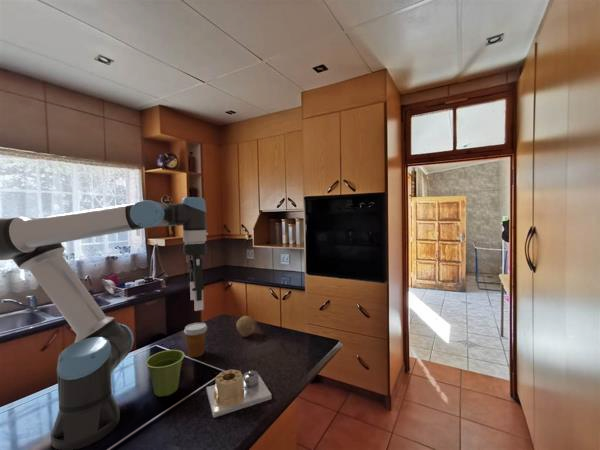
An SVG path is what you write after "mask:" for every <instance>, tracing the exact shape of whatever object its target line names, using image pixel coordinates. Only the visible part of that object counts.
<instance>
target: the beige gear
mask: <svg viewBox="0 0 600 450" xmlns="http://www.w3.org/2000/svg"><path fill="white" fill-rule="evenodd" d="M243 377H244V374H243V373H242V371H241V370H237V369H228V370H224V371H221V372H219V373H218V374H217V375H216V376H215V377H214V380H215V381H214V382H215V384H214V385H215V387H216V390H215V392H214V397H215V398H216V402H217V403H219V402H220V403H225V405H229V403H232V402H235V401H236V402H238V401H239V400H240V397H241V396H242V395H244V389H243Z"/></svg>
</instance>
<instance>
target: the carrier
mask: <svg viewBox="0 0 600 450" xmlns="http://www.w3.org/2000/svg"><path fill="white" fill-rule="evenodd" d="M243 389H244V395H242V396H241V397H240V400H239V401H238V402H236V401H235V402H232V403H229V405H225V403H220V402H219V403H217V402H216V398H215V397H214V392H215V390H216V387H215V384H214V385H210V386H206V389H205V390H206V392H205V393H206V395H207V398H208V402H209V405H210V406H209V407H210V410H211V414H212V417H213V418H217V417H221V416H224V415H226V414H229V413H233V412H236V411H238V410H241V409H245V408H249V407H252V406H254V405H257V404H261V403H263V402H267V401H270V400H272V393H271V391H270V390H269V389H268V386H267V385H266V383H265V382H264V381H263V378H262V377H261V375H260V374H259V372H258V371H256V370H254V369H250V370H248V371H246V372H244V374H243Z"/></svg>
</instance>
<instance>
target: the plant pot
mask: <svg viewBox="0 0 600 450" xmlns="http://www.w3.org/2000/svg"><path fill="white" fill-rule="evenodd" d="M185 355H186V354H185V352H183V351H182V350H178V349H169V350H163V351H159V352H157V353H155V354H152V355H151V356H150V357H148V358H147V359H146V361H145V365H146V366H147V369H148V371H149V374H150V378H151V383H152V388H153V392H154V395H155V396H156V397H161V398H162V397H166V396H171V395H172V394H174V393H175V392H176V391H177V390H178V388H179V384H180V376H181V370H182V364H183V360H184V358H185Z"/></svg>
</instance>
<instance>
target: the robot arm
mask: <svg viewBox="0 0 600 450" xmlns="http://www.w3.org/2000/svg"><path fill="white" fill-rule="evenodd" d="M206 207H207V206H206V200H205V199H204V198H203V197H199V196H196V197H195V196H191V197H190V196H189V197H183V198H182V201H181V202H178V203H163V202H158V201H155V200H151V199H144V200H140V201H139V200H138V201H136V202H134V203H129V204H128V203H127V204H121V205H115V206H108V207H103V208H101V207H100V208H95V209H89V210H88V209H87V210H82V211H75V212H69V213H63V214H57V215H51V216H43V217H42V216H41V217H24V216H18V217H10V218H9V217H8V218H7V217H4V218H1V217H0V261H8V260H13V261H14V264H16V266H17V267H18V269H19V270H26V271H29V272H30V273H31V274H32V276H33V278H34V279H35V280H36V281H37V283H38V284H39V286H40V288H41V289H42V290H43V291H44V292H45V294H46V295H47V296H48V298H49V299H50V300H51V302H52V303H53V304H54V306H55V308H57V310H58V311H59V313H60V314H61V315H62V317H63V318H64V320H66V322H67V323H68V324H69V326H70V327H71V329H72V330H73V331H74V333H75V334H76V336H75V340H74V342H73V343H72V344H70V345H68V346H67V347H66V348H64V349H63V350H62V351H61V352H60V354H59V355H58V358H57V366H56V374H57V392H58V393H57V394H58V412H57V416H56V418H55V421H54V424H53V427H52V430H51V434H50V443H51V444H50V445H51V447H52V446H53V447H54V448H56V449H62V450H71V449H72V450H73V449H75V450H79V449H82V448H86V447H87V446H89V445H91V444H94V443H95V442H98V441H99V440H102V439H103V438H105V437H106V436H108V434H110V433H111V432H112V431H113V430H115V428H116V427H117V425H118V424H119V422H120V417H121V414H120V413H121V412H120V408H119V404H118V403H117V401H116V399H115V397H114V394H113V393H112V392H113V391H112V390H113V389H112V373H113V372H114V371H115V370H116V368H118V366H119V365H120V364H121V362H123V360H125V359H126V357H127V356H128V355H129V353H130V352H131V350H132V348H133V345H134V340H135V337H134V334H133V331H132V330H131V328H130V327H129V326H128V325H126V324H122V323H118V321H117V320H116V318H115V317H113V316H107V315H106V314H105V313H104V311H103V310H102V309H101V307H100V305H99V304H98V303H97V302H96V300H95V299H94V297H93V296H92V295H91V293H90V292H89V290H88V289H87V288H86V287H85V286H86V285H84V283H83V282H82V281H81V278H79V277H78V275H77V274H76V272H75V271H74V269H72V267H71V266H70V264H69V262H68V261H67V260H66V258H65V257H64V253H65V250H66V248H65V247H64V245H62V244H63V243H68V242H71V241H72V242H73V241H78V240H83V239H90V238H91V239H92V238H95V237H101V236H108V235H114V234H118V233H124V232H130V231H131V232H132V231H137V230H142V229H148V228H149V229H150V228H157V227H175V226H178V227H179V226H182V242H183V243H184V244H183V245H182V246H183V248H182V249H183V255H185V256H189V260H188V264H189V265H188V266H189V277H188V278H189V293H190V294H189V295H190V301H193V302H194V306H193V307H194V311H195V312H197V311H203V310H204V289H205V286H204V285H205V283H204V272H203V258H201V255H205V254H206V255H207V252H208V246H207V245H208V244H207V243H206V242H207V236H209V232H207V209H206ZM53 447H52V448H53ZM54 448H53V449H54ZM56 449H55V450H56Z"/></svg>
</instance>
